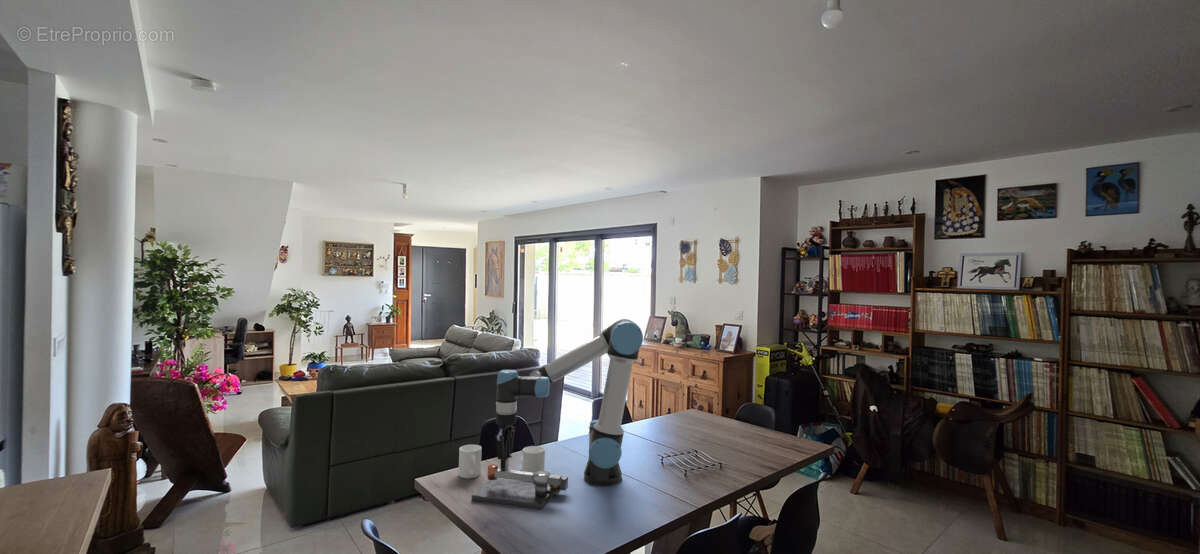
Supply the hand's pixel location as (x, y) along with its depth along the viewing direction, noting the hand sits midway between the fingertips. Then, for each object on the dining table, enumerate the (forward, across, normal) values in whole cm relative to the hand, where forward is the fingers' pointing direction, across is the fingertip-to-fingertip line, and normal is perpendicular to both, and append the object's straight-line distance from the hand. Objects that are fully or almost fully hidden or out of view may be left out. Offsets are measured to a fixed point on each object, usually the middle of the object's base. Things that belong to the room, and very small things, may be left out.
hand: (504, 476), depth 182 cm
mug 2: (+6, -21, +2) cm, 22 cm away
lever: (0, +3, +9) cm, 9 cm away
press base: (+5, +3, +8) cm, 10 cm away
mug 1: (+6, -9, -18) cm, 21 cm away
